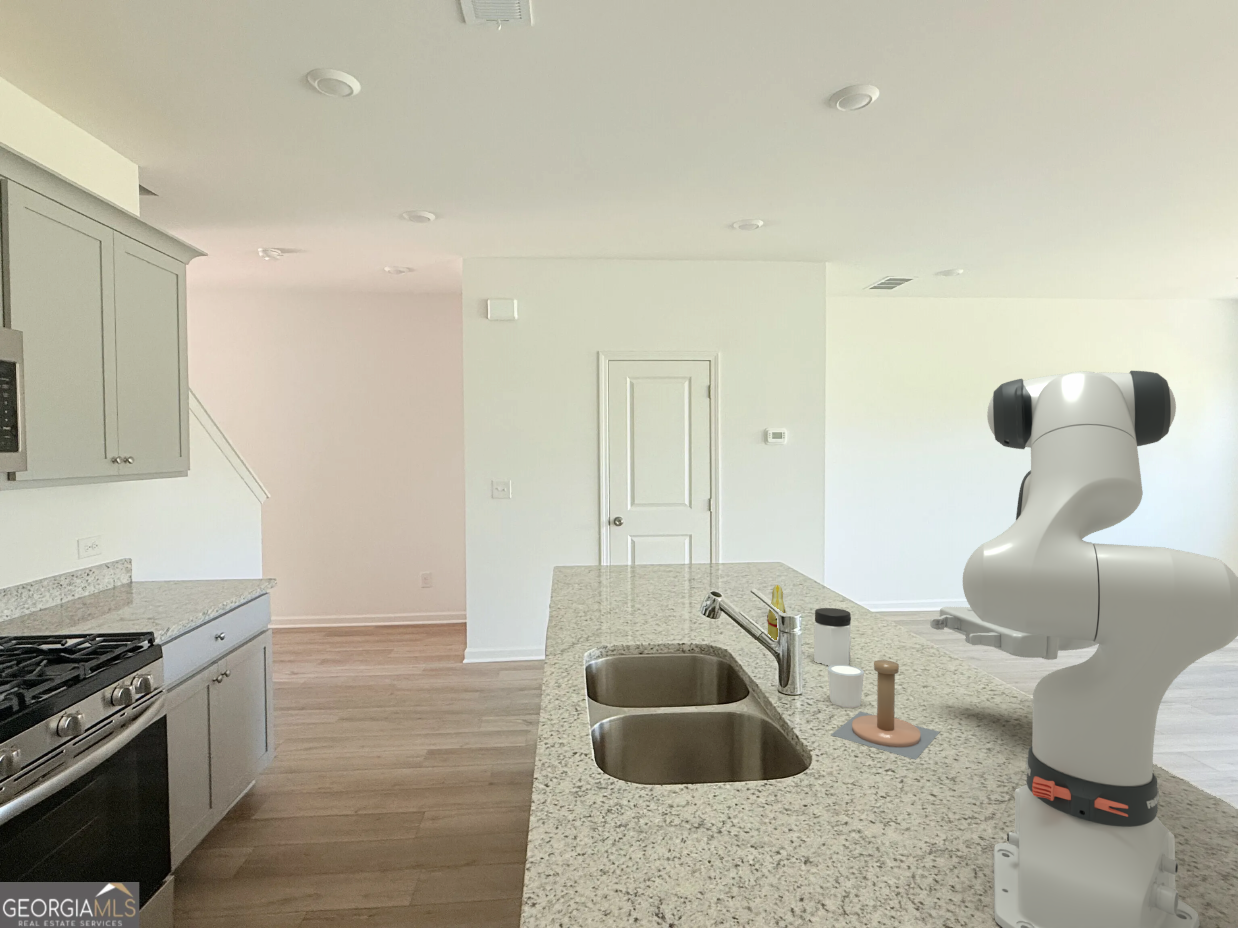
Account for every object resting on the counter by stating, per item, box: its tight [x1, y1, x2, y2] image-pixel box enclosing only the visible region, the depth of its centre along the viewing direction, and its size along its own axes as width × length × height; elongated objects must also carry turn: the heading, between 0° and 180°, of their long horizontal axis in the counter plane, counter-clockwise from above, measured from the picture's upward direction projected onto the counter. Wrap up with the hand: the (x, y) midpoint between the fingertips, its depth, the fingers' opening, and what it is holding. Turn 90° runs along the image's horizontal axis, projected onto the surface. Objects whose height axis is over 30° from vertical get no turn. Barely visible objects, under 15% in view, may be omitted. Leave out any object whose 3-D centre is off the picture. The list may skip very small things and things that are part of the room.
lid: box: [852, 659, 920, 747], centre depth 114 cm, size 11×11×12 cm
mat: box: [830, 710, 941, 761], centre depth 114 cm, size 14×14×1 cm
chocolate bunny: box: [766, 584, 787, 640], centre depth 173 cm, size 7×11×15 cm, turn 166°
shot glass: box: [827, 664, 865, 708], centre depth 129 cm, size 7×7×7 cm
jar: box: [813, 607, 852, 667], centre depth 156 cm, size 9×8×12 cm
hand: (949, 631), depth 116 cm, fingers open, 8 cm apart
